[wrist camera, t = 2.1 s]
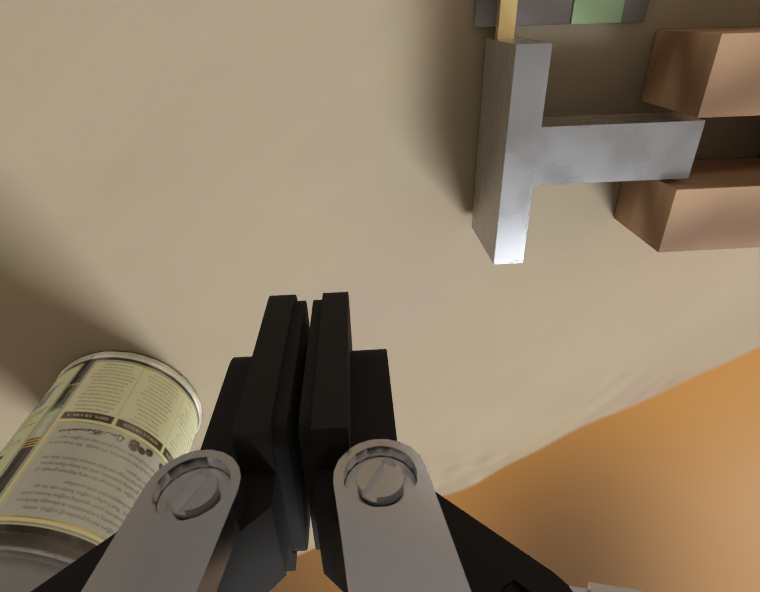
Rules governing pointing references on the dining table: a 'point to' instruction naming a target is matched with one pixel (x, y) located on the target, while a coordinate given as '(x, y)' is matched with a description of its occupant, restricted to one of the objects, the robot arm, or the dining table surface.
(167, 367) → the coffee can
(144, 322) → the dining table surface
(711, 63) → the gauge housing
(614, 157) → the grey angular frame piece
